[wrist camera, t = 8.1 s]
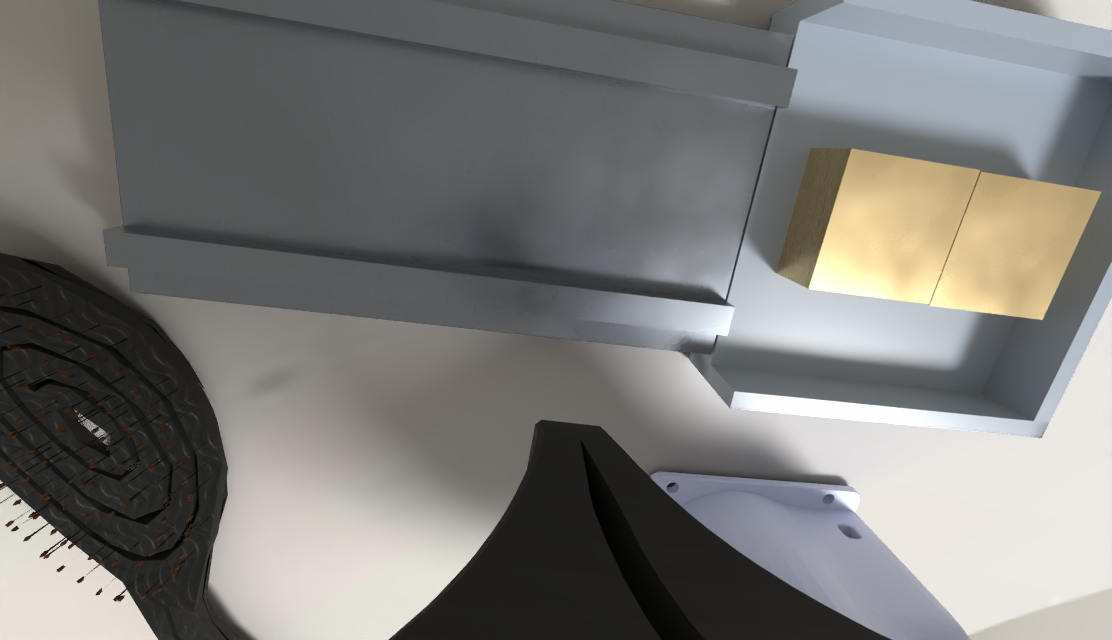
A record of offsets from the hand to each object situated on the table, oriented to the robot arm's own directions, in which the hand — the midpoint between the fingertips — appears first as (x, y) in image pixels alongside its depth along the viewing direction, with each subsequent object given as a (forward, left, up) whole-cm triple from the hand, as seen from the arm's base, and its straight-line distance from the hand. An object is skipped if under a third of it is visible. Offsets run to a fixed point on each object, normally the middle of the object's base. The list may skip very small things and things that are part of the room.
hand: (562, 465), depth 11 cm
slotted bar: (+3, -5, -9) cm, 11 cm away
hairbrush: (+13, +11, -10) cm, 20 cm away
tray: (-12, -5, -9) cm, 16 cm away
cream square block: (-9, -5, -7) cm, 13 cm away
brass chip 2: (-14, -5, -7) cm, 16 cm away
